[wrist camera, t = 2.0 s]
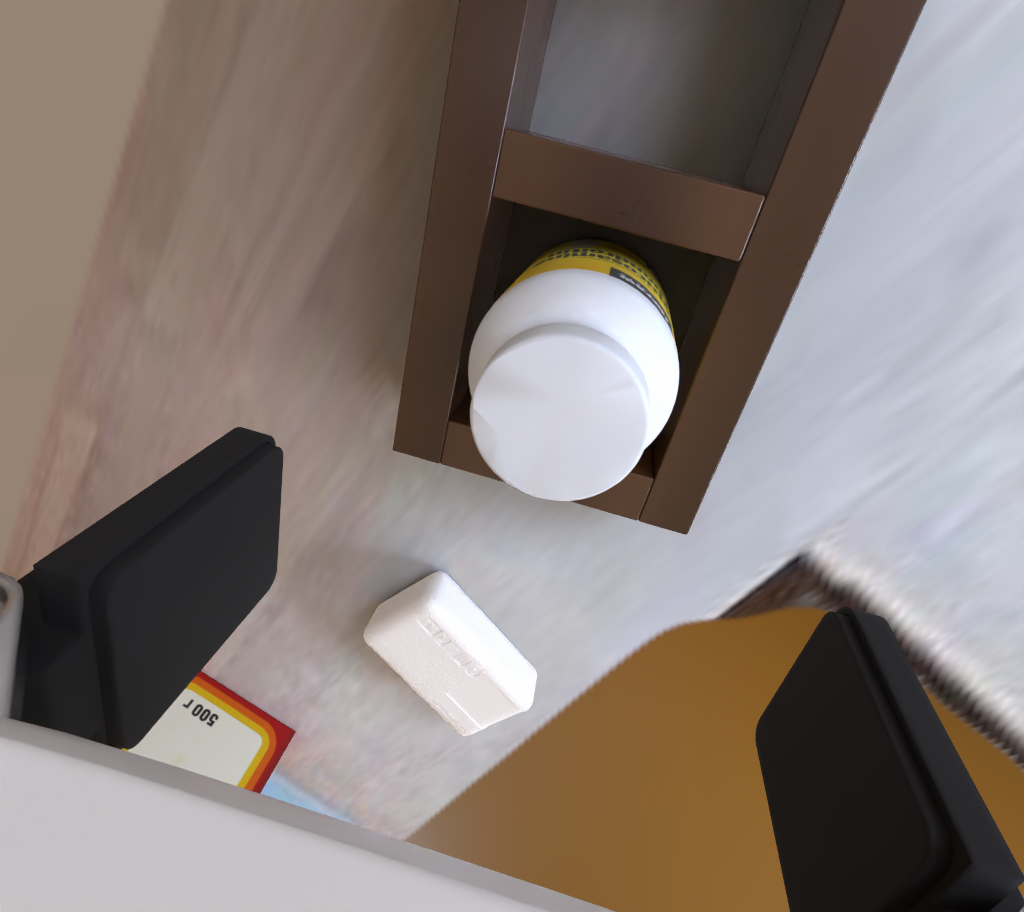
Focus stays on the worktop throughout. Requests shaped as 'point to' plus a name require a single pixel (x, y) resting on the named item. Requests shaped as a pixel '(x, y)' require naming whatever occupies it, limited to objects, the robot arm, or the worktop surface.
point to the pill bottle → (573, 371)
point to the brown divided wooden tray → (637, 228)
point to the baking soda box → (217, 736)
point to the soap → (451, 654)
